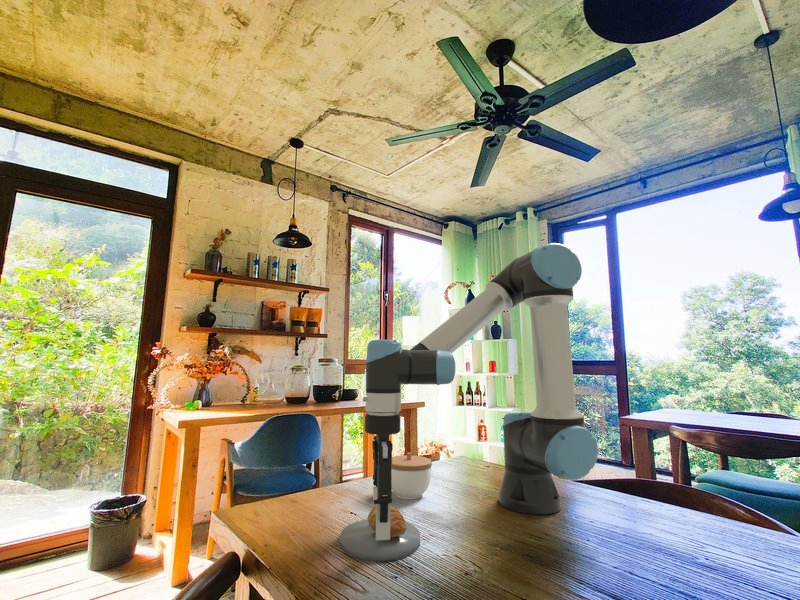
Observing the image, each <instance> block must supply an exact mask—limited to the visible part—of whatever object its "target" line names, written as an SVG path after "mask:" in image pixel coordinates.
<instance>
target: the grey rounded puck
mask: <svg viewBox="0 0 800 600" xmlns="http://www.w3.org/2000/svg"><path fill="white" fill-rule="evenodd" d="M406 527H407V529H406V531H405V533H404V534H402V535H398V536H396V537H393V538H392V537H390V540H376V532H375V531H374V530H373V529H372V528H371V527H370V526H369V522H368V518H367V519H362V520H357V521H355V522H352V523H350V524H348V525H346V526H345V527H344V528H342V530H341V532H340V535H339V546H340V548H341V550H342V552H343V553H345V554H347V555H348V556H351V557H353V558H355V559H359V560H363V561H368V562H369V561H370V562H390V561H396V560H401V559H403V558H406V557H409V556H412V555H413V554H414V553H416V552H417V550H419V548H420V546H421V532H420V530H419V528H418V527H416V526H415V525H413V524H412V523H409V522H407V521H406Z"/></svg>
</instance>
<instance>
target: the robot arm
mask: <svg viewBox="0 0 800 600" xmlns="http://www.w3.org/2000/svg"><path fill="white" fill-rule="evenodd" d="M582 271H583V270H582V264H581V261H580V259H579V257H578V255H577V254H576V253H575V252H574V251H572V250H571V248H569V247H568V246H566V245H565V244H562V243H557V242H550V243H547V244H544V245H540V246H538V247H536V248H535V249H533V250H532V251H529V252H528V253H526V254H523V255H522V256H518V257H517V258H515V259H514V260H512V261H511V262H510V263H509V264H508V265H506V266H505V267H504V268H503V269H502V270H501V271H500V272H499V273H498V274H496V276H494V277H493V278H492V279H491V280H490V281H488V282H487V283H486V284H485V289H484V290H483V291H482V292H480V293H479V294H478V295H477V296H475V297H474V298H473V299H472V300H471V301H469V302H468V303H467V304H465V305H464V306H462V308H461V309H459V310H458V311H457V312H455V313H454V314H453V315H451V316H450V317H449V318H447V320H446V321H444V322H443V323H441V324H440V325H439V326H438V327H436V329H434V330H433V331H432V332H431V333H428V335H426V336H425V337H424V338H423V339H422V340H420V341H419V342H418V343H417V344H415V345H414V346H413V347H412V348H410V349H403V347H402V343H401V341H400V340H397V339H373V340H370V341H369V342H368V343H367V346H366V347H367V348H366V359H365V396H363V397H362V401H363V402H365V412H367V413H366V414H365V415H364V432H365V433H366V434H369V435H374V436H373V441H372V445H371V446H372V447H371V448H372V459H373V473H372V480H373V482H372V484H373V487H372V492H373V493H372V509H373V508H374V507H376V540H390V514H391V507H392V505H391V504H392V503H393V497H392V496H393V495H392V494H393V493H392V492H393V491H392V478H391V464H392V457H393V455H392V454H393V449H394V447H393V442H392V440H390V435H396V434H399V433H400V432H401V418H402V417H401V415H400V414H399V413H400V412H401V411H402V392H401V390H402V387H401V386H402V385H437V386H440V385H449V384H451V383H452V382H453V381H454V379H455V375H456V359H455V357H454V355H453V353H454V352H455V351H456V350H458V349H459V348H460V347H461V346H462V345H464V344H465V343H467V342H468V341H469V340H470V339H471V338H473V336H475V335H476V334H477V333H478V332H479V331H481V330H482V329H484V327H486V326H487V325H488V324H489V323H490V322H491V321H493V320H494V319H495V318H497V316H499V315H500V314H502V312H509V311H511V310H512V309H513V308H515V307H516V306H517V305H519V304H521V303H524V304H525V305H527V307H528V308H529V309H530V322H531V323H530V324H531V339H532V355H533V368H534V369H533V371H534V383H535V397H536V400H535V401H536V407H535V409H533V411H531V412H530V411H529V412H527V411H526V412H525V411H524V412H507V413H505V415H504V416H503V424H502V429H503V450H504V451H503V452H504V454H503V455H504V473H503V477H502V480H501V483H500V487H499V490H498V491H499V492H498V502H499V504H500V505H501V506H503V507H504V508H506V509H509V510H510V511H515V512H518V513H522V514H528V515H550V514H551V515H552V514H556V513H557V512H559V511H560V510H562V509H561V508H562V507H561V506H562V505H561V498H560V494H559V491H558V489H557V486H556V483H555V481H554V478H553V476H554V477H556V478H557V477H558V478H562V479H566V480H569V481H570V480H571V481H574V480H580V479H583V478H584V477H586V476H587V475H588V474H590V471H591V470H592V469H593V468H594V467H595V465H596V464H597V460H598V457H599V446H598V442H597V439H596V437H595V436H594V435H593V434H592V432H591V431H590V430H589V429H587V428H586V425H585V417H584V416H585V415H584V414H583V413H582V412H581V411H580V410H579V409H578V408H577V407H576V406H577V405H576V396H575V393H576V392H575V381H574V371H573V370H574V368H573V359H572V358H573V357H572V346H571V335H570V333H571V332H570V323H569V322H570V321H569V313H568V312H569V311H568V306H569V305H570V303H571V302H572V301H573V300H574V289H573V288H574V287H575V285H577V284H578V282H579V281H580V279H581V277H582Z"/></svg>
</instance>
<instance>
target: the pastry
mask: <svg viewBox="0 0 800 600" xmlns="http://www.w3.org/2000/svg"><path fill="white" fill-rule="evenodd" d="M367 519H368V522H369V526H370V527H371V528H372V529H373V530H374V531H375V532H376V507H374V508H373V507H372V509H370V511H369V513H368V515H367ZM406 522H407V521H406V519H405V517H404V516H403V514H402V513H401V512H400V510H399V509H397V508H396V507H395V506H391V514H390V537H392V538H393V537H396V536H398V535H402V534H404V533H405V531H406V529H407V527H406Z"/></svg>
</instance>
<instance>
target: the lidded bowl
mask: <svg viewBox="0 0 800 600" xmlns="http://www.w3.org/2000/svg"><path fill="white" fill-rule="evenodd" d="M432 465H433V462H432V460H431V459H430V458H428V457H427V456H421V455H412V452H406V455H404V454H403V455H402V454H401V455H396V456H395V455H394V456H392V464H391V478H392V492H393V493H394V494H395V497H396V498H398V499H402V500H410V501H411V500H417V499H420V498H422V497H423V494H424V493H425V492H426V491H427V490H428V488H429V485H430V483H431V480H432V479H431V478H432Z"/></svg>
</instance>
